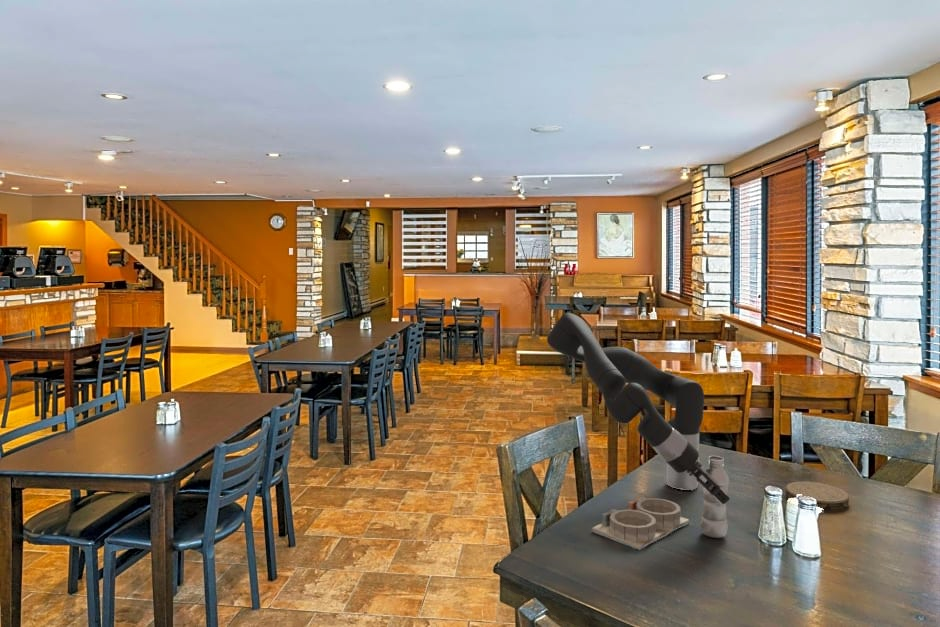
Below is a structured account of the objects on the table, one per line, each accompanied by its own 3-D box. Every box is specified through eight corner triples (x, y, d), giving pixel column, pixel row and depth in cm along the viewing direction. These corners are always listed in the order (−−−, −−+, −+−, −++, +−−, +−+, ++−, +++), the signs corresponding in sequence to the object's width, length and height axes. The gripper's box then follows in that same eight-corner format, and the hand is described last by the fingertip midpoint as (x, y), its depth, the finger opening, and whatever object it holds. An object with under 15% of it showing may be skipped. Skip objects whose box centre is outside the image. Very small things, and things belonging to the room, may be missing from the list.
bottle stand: (643, 508, 179) (643, 492, 178) (689, 523, 168) (689, 506, 168) (591, 532, 164) (592, 514, 163) (638, 550, 153) (639, 532, 153)
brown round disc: (861, 506, 180) (861, 495, 180) (822, 516, 174) (823, 505, 173) (810, 488, 195) (810, 478, 194) (773, 496, 188) (773, 486, 188)
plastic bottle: (722, 530, 164) (725, 454, 162) (730, 542, 158) (733, 462, 156) (697, 529, 165) (699, 453, 163) (703, 541, 158) (706, 462, 156)
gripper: (657, 450, 167) (702, 495, 168) (671, 469, 153) (720, 517, 153) (678, 431, 166) (723, 476, 167) (694, 447, 152) (743, 496, 153)
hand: (721, 495), depth 160 cm, fingers closed on plastic bottle, 6 cm apart
